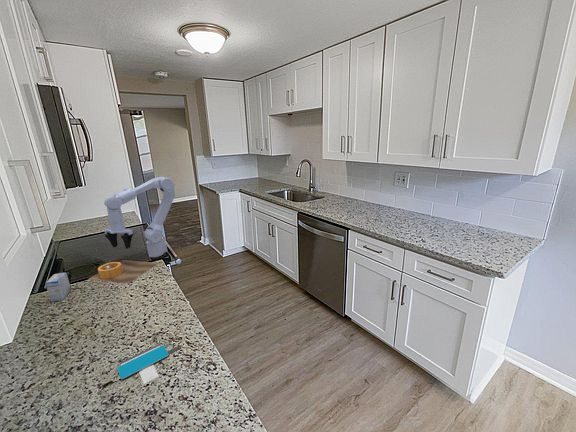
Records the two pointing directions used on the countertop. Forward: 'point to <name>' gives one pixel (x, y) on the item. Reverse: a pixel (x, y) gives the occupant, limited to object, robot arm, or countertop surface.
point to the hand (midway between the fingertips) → (121, 247)
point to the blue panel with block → (145, 363)
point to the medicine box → (58, 287)
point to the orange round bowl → (110, 270)
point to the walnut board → (128, 271)
